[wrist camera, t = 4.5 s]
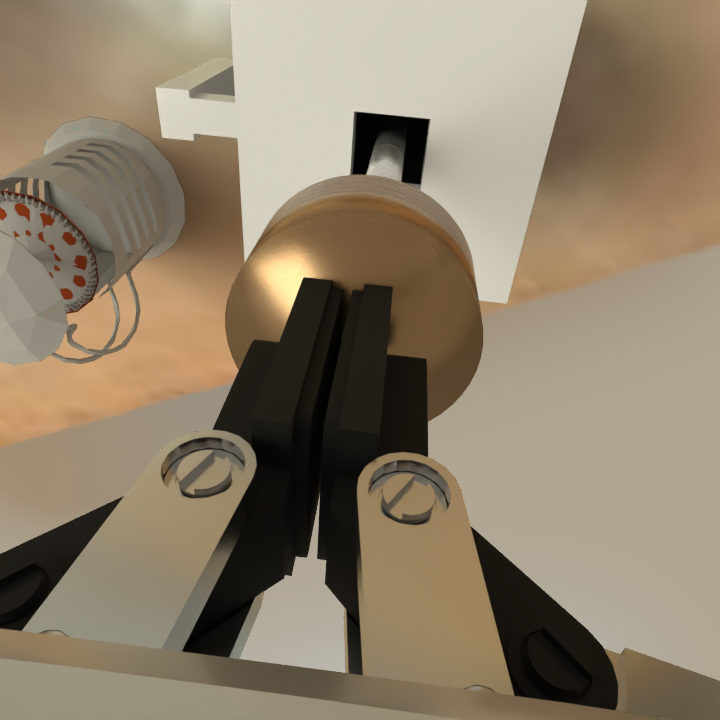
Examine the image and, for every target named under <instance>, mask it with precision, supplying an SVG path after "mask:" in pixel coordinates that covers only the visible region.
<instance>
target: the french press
mask: <svg viewBox="0 0 720 720" xmlns="http://www.w3.org/2000/svg"><path fill="white" fill-rule="evenodd" d="M28 178H33V182H32V196H31V195H27V184H28ZM39 179H40V180H42V181H43V188H44V201H42V200H41V199H39V187H38V182H39ZM20 181H21V190H20V193H15V185H16V183H18V182H20ZM7 188H8V191H4V190H5V189H7ZM184 223H185V200H184V193H183V190H182V188H181V186H180V183H179V181H178V178H177V176H176V174H175V171H174V169H173V166H172V165H171V164H170V163H169V162H168V160H167V159H166V158H165V157H164V156H163V155H162V153H161V152H160V151H159V150H158V149H157V148H156V147H155V145H154V144H153V143H152V142H151V141H150V140H149V139H147V138H146V137H144V136H142V135H141V134H139V133H137V132H136V131H134V130H132V129H131V128H129V127H127V126H126V125H124V124H123V123H121V122H116V121H110V120H105V119H100V118H95V117H87V118H83V119H79V120H75V121H71V122H67V123H64V124H63V125H62V126H61V127H60V128H59V129H58V130H57V131H56V132H55V133H54V134H53V135H52V136H51V137H50V138H49V139H48V140H47V141H46V144H45V148H44V152H43V156H42V157H40V158H39V159H37V160H35V161H33V162H31V163H29V164H27V165H25V166H23V167H21V168H20V169H18V170H16V171H14V172H12V173H10V174H8V175H6V176H4V177H2V178H1V179H0V362H3V363H7V364H12V365H19V364H26V363H32V362H39V361H42V360H43V359H45V358H46V357H47V356H49V355H51V356H53V357H55V358H57V359H59V360H61V361H63V362H68V363H76V364H83V363H87V362H91V361H94V360H96V359H98V358H100V357H102V356H103V355H106V354H109V353H113V352H116V351H119V350H121V349H122V348H124V347H126V345H127V344H128V342H129V341H130V339H131V338H132V336H133V335H134V333H135V332H136V329H137V326H138V322H139V316H140V305H139V298H138V293H137V291H136V288H135V285H134V282H133V279H132V277H131V271H132V270H133V268H134V267H135V266H136V265H137V264H138V263H139V262H140V261H141V260H145V259H150V258H156V257H158V256H160V255H161V254H162V253H164V252H165V251H166V250H168V249H169V248H170V247H172V246H173V245H174V244H175V243H176V241H177V239H178V237H179V235H180V232H181V230H182V228H183V226H184ZM125 273H126V275H127V278H128V281H129V284H130V287H131V290H132V293H133V296H134V300H135V305H136V318H135V323H134V325H133V327H132V330H131V332H130V334H129V335H128V336H127V337H126V339H125V340H124V341H123V343H122V344H121V345H119V346H117V347H115V348H113V349H109V347H110V346H111V345H112V344H113V343H114V341H115V338H116V334H117V330H118V326H119V321H120V315H119V306H118V302H117V299H116V296H115V294H114V291H113V288H112V286H113V285H114V284H115V283H116V282H117V281H118V280H119V279H120V278H121V277H122V276H123V275H124V274H125ZM112 279H113V280H112ZM111 280H112V283H111ZM106 283H107V285H108V288H107V289H106V290H105V291H104V292H103V293H102V294H101V296H102V295H103V294H105V293H106V292H107V291H109V292H110V295H111V298H112V301H113V304H114V310H115V315H116V321H115V326H114V331H113V333H112V336H111V338H110V340H109V342H108V343H107V345H106V346H105V347H104V348H103V349H102V350H93V349H86V348H84V347H83V346H81V345H79V344H77V343H76V342H74V340H73V339H72V334H73V333H74V331H75V330H76V328H77V324H75V323H74V324H71V325H69V326H68V322H67V317H66V314H68V313H73V312H78V311H79V310H80V309H82V308H83V307H84V306H85V305H87V304H88V303H89V302H90V301H92V300H93V297H94V296H95V295H96V294H97V293H98V292H99V291H100V290H101V289H102V288H103V287H104V286H105V284H106ZM101 296H100V297H101ZM65 332H66V334H67V340H68V343H69V344H70V345H71V346H73V347H75V348H77V349H79V350H81V351H83V352H85V353H87V354H95V355H93V356H91V357H87V358H83V359H74V358H65V357H63V356H60V355H58V354H56V353H54V351H56V350H57V349H58V348H59V347H60V345H61V342H62V340H63V337H64V335H65ZM108 349H109V350H108Z"/></svg>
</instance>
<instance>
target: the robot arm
mask: <svg viewBox="0 0 720 720" xmlns="http://www.w3.org/2000/svg"><path fill="white" fill-rule="evenodd" d="M392 293H393V287H390V286H381V285H372V284H364V289H363V291H357V290H352V294H351V299H350V303H349V308H348V313H347V318H346V322H345V327H344V332H343V336H342V341H341V346H340V339H341V323H342V307H343V289H338V288H333V280H326V279H316V278H307V277H304V278H303V280H302V282H301V285H300V287H299V290H298V293H297V295H296V298H295V301H294V303H293V306H292V309H291V311H290V314H289V317H288V319H287V322H286V325H285V327H284V330H283V333H282V335H281V338H280V341H279V342H274V341H265V340H256V339H255V340H253V342H252V343H251V345H250V347H249V349H248V351H247V354H246V356H245V358H244V360H243V363H242V365H241V367H240V369H239V372H238V374H237V376H236V378H235V381H234V383H233V385H232V387H231V389H230V392H229V394H228V396H227V398H226V401H225V403H224V405H223V408H222V410H221V412H220V414H219V417H218V419H217V421H216V423H215V425H214V428H213V430H203V431H195V432H191V433H188V434H185V435H182V436H179V437H178V438H176V439H174V440H173V441H171V442H169V443H167V444H166V445H165V446H164V447H163V448H162V449H161V450H160V451H159V452H158V453H157V454H156V455H155V456H154V458H153V459H152V460H151V462H150V463H149V464H148V466H147V467H146V468H145V470H144V471H143V472H142V473H141V475H140V476H139V477H138V479H137V480H136V481H135V483H134V484H133V485H132V487H131V488H130V489H129V491H128V492H127V493H126V494H125V496H123V497H121V498H119V499H117V500H115V501H112V502H110V503H108V504H106V505H104V506H102V507H100V508H97V509H95V510H93V511H91V512H89V513H87V514H85V515H83V516H80V517H78V518H76V519H74V520H72V521H70V522H68V523H66V524H63V525H61V526H59V527H57V528H55V529H53V530H51V531H48V532H47V533H44V534H42V535H40V536H38V537H36V538H33V539H31V540H29V541H27V542H25V543H23V544H21V545H19V546H16V547H14V548H12V549H10V550H8V551H6V552H4V553H1V554H0V720H720V681H718V680H716V679H713V678H710V677H707V676H704V675H701V674H698V673H696V672H693V671H690V670H687V669H684V668H681V667H679V666H675V665H673V664H670V663H667V662H664V661H661V660H658V659H656V658H653V657H650V656H647V655H644V654H641V653H638V652H636V651H633V650H630V649H627V648H624V650H623V651H622V653H621V654H618V653H615V652H612V651H609V650H607V649H604V648H603V646H602V645H601V644H600V643H599V642H598V641H597V640H596V638H594V636H593V635H592V634H591V633H590V632H589V631H588V630H587V629H586V628H585V627H584V626H583V625H582V624H581V623H579V622H578V621H577V620H576V619H575V618H574V617H573V616H572V615H570V614H569V613H568V612H567V611H566V610H565V609H564V608H562V607H561V606H560V605H559V604H558V603H557V602H556V601H555V600H553V599H552V598H551V597H550V596H549V595H548V594H547V593H546V592H544V591H543V590H542V589H541V588H540V587H539V586H537V584H535V583H534V582H533V581H532V580H531V579H530V578H529V577H528V576H526V575H525V574H524V573H523V572H522V571H521V570H520V569H518V568H517V567H516V566H515V565H514V564H513V563H512V562H511V561H509V560H508V559H507V558H506V557H505V556H504V555H503V554H502V553H500V552H499V551H498V550H497V549H496V548H495V547H494V546H492V545H491V544H490V543H489V542H488V541H487V540H486V539H485V538H483V537H482V536H481V535H480V534H479V533H478V532H477V531H476V530H474V529H473V528H472V527H471V526H470V523H469V519H468V516H467V511H466V508H465V504H464V500H463V496H462V492H461V489H460V487H459V485H458V483H457V480H456V478H455V477H454V476H453V475H452V474H451V473H450V472H449V471H448V470H447V468H446V467H444V466H443V465H441V464H439V463H438V462H437V461H435V460H433V459H431V458H428V406H427V360H426V358H417V357H408V356H399V355H390V354H387V349H388V338H389V327H390V315H391V304H392ZM319 494H320V509H319V532H318V554H317V558H318V559H322V560H326V577H325V584H326V585H327V586H328V588H329V589H330V590H331V591H332V593H333V594H334V595H335V596H336V597H337V599H338V600H339V601H340V602H341V603H342V605H343V606H344V607H345V610H344V637H345V638H344V639H345V668H346V673H341V672H334V671H326V670H318V669H311V668H303V667H295V666H288V665H280V664H273V663H265V662H257V661H250V660H242V659H239V658H240V656H241V653H242V651H243V649H244V646H245V644H246V641H247V639H248V637H249V634H250V632H251V629H252V627H253V624H254V622H255V620H256V617H257V615H258V612H259V610H260V608H261V604H262V600H263V596H264V591H265V590H267V589H268V588H270V587H271V586H273V585H274V584H276V583H277V582H279V581H281V580H282V579H284V576H285V575H289V576H292V571H293V566H294V562H295V557H296V556H298V557H307V555H308V551H309V546H310V541H311V536H312V530H313V526H314V520H315V515H316V510H317V505H318V499H319Z"/></svg>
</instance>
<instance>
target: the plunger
mask: <svg viewBox="0 0 720 720" xmlns="http://www.w3.org/2000/svg"><path fill="white" fill-rule="evenodd" d="M407 126H408V117H406V116H396V115H386V114H383V116H382V120H381V123H380V127H379V131H378V134H377V138H376V142H375V145H374V149H373V152H372V156H371V160H370V163H369V167H368V171H367V174H366V175H346V176H339V177H334V178H330V179H326V180H323V181H321V182H318V183H315V184H313V185H310V186H309V187H307V188H305V189H303V190H301V191H300V192H298V193H297V194H295V195H294V196H293V197H291V198H290V199H289V200H287V201H286V202H285V203H284V204H283V205H282V206H281V207H280V208H279V209H278V210H277V212H276V213H275V214H274V216H273V217H272V219H271V220H270V221H269V223H268V224H267V226H266V228H265V229H264V231H263V233H262V235H261V236H260V238H259V240H258V241H257V243H256V245H255V246H254V248H253V250H252V251H251V253H250V255H249V256H248V258H247V260H246V262H245V263H244V265H243V267H242V268H241V270H240V272H239V273H238V275H237V277H236V279H235V281H234V283H233V285H232V287H231V291H230V294H229V297H228V300H227V306H226V313H225V329H226V335H227V341H228V345H229V348H230V351H231V355H232V357H233V359H234V361H235V363H236V365H237V368H238V369H240V367H241V365H242V363H243V360H244V358H245V356H246V354H247V351H248V349H249V347H250V345H251V343H252V342H253V340H255V339H256V340H265V341H274V342H279V341H280V338H281V335H282V333H283V330H284V327H285V325H286V322H287V319H288V317H289V314H290V311H291V309H292V306H293V303H294V301H295V298H296V295H297V293H298V290H299V287H300V285H301V282H302V280H303V278H304V277H307V278H316V279H326V280H333V288H338V289H343V307H342V323H341V339H340V346H341V341H342V336H343V332H344V327H345V322H346V318H347V313H348V308H349V303H350V299H351V294H352V290H357V291H363V289H364V284H372V285H381V286H390V287H393V293H392V304H391V315H390V327H389V338H388V349H387V354H390V355H399V356H408V357H417V358H426V360H427V406H428V421H430V420H432V419H433V418H435V417H437V416H438V415H440V414H441V413H443V411H445V410H446V409H448V408H449V407H450V406H451V405H453V403H454V402H455V401H456V400H457V399H458V398H459V397H460V396H461V395H462V393H463V392H464V391H465V390H466V388H467V387H468V385H469V384H470V382H471V380H472V378H473V377H474V375H475V373H476V370H477V367H478V365H479V362H480V358H481V353H482V347H483V325H482V318H481V312H480V305H479V299H478V292H477V285H476V279H475V272H474V266H473V259H472V255H471V252H470V249H469V245H468V243H467V241H466V239H465V236H464V234H463V232H462V230H461V229H460V227H459V226H458V225H457V223H456V222H455V220H454V219H453V218H452V216H451V215H450V214H449V213H448V212H447V211H446V210H445V209H444V208H443V207H442V206H441V205H440V204H439V203H437V202H436V201H435V200H434V199H433V198H431V197H430V196H428V195H427V194H425V193H424V192H422V191H420V190H419V189H417V188H415V187H412V186H410V185H408V184H406V183H404V182H401V180H402V171H403V162H404V153H405V144H406V135H407Z"/></svg>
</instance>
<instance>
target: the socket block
mask: <svg viewBox="0 0 720 720" xmlns="http://www.w3.org/2000/svg"><path fill="white" fill-rule="evenodd" d="M229 1H230V19H231V36H232V53H233V59H226V58H214V59H212V60H210V61H208V62H206V63H204V64H202V65H200V66H198V67H196V68H194V69H192V70H190V71H187V72H185V73H183V74H181V75H179V76H177V77H175V78H173V79H171V80H169V81H167V82H165V83H163V84H161V85H159V86H157V87H155V88H156V95H157V103H158V110H159V117H160V125H161V132H162V138H172V139H181V140H191V141H194V140H196V139H197V138H198V137H199V136H201V135H212V136H222V137H232V138H237V139H238V156H239V174H240V191H241V208H242V225H243V242H244V260H245V262H246V260H247V258H248V256H249V255H250V253H251V251H252V250H253V248H254V246H255V245H256V243H257V241H258V240H259V238H260V236H261V235H262V233H263V231H264V229H265V228H266V226H267V224H268V223H269V221H270V220H271V219H272V217H273V216H274V214H275V213H276V212H277V210H278V209H279V208H280V207H281V206H282V205H283V204H284V203H285V202H286V201H287V200H289V199H290V198H291V197H293V196H294V195H295V194H297V193H298V192H300V191H301V190H303V189H305V188H307V187H309V186H310V185H313V184H315V183H318V182H321V181H323V180H326V179H330V178H334V177H339V176H346V175H366V174H367V171H368V167H369V163H370V160H371V156H372V152H373V149H374V145H375V142H376V138H377V134H378V131H379V127H380V123H381V120H382V116H383V114H386V115H396V116H406V117H408V126H407V135H406V144H405V153H404V162H403V171H402V180H401V182H404V183H406V184H408V185H410V186H412V187H415V188H417V189H419V190H420V191H422V192H424V193H425V194H427V195H428V196H430V197H431V198H433V199H434V200H435V201H436V202H437V203H439V204H440V205H441V206H442V207H443V208H444V209H445V210H446V211H447V212H448V213H449V214H450V215H451V216H452V218H453V219H454V220H455V222H456V223H457V225H458V226H459V227H460V229H461V230H462V232H463V234H464V236H465V239H466V241H467V243H468V245H469V249H470V252H471V255H472V259H473V266H474V272H475V279H476V285H477V292H478V299H479V301H488V302H497V303H506V304H507V301H508V297H509V293H510V290H511V286H512V282H513V278H514V275H515V271H516V267H517V263H518V260H519V256H520V252H521V248H522V245H523V241H524V237H525V233H526V230H527V226H528V222H529V218H530V215H531V211H532V207H533V203H534V199H535V196H536V192H537V188H538V184H539V181H540V177H541V173H542V169H543V166H544V162H545V158H546V154H547V151H548V147H549V143H550V139H551V136H552V132H553V128H554V124H555V121H556V117H557V113H558V109H559V106H560V102H561V98H562V94H563V90H564V87H565V83H566V79H567V75H568V72H569V68H570V64H571V60H572V57H573V53H574V49H575V45H576V42H577V38H578V34H579V30H580V27H581V23H582V19H583V15H584V12H585V8H586V4H587V0H229Z"/></svg>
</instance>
